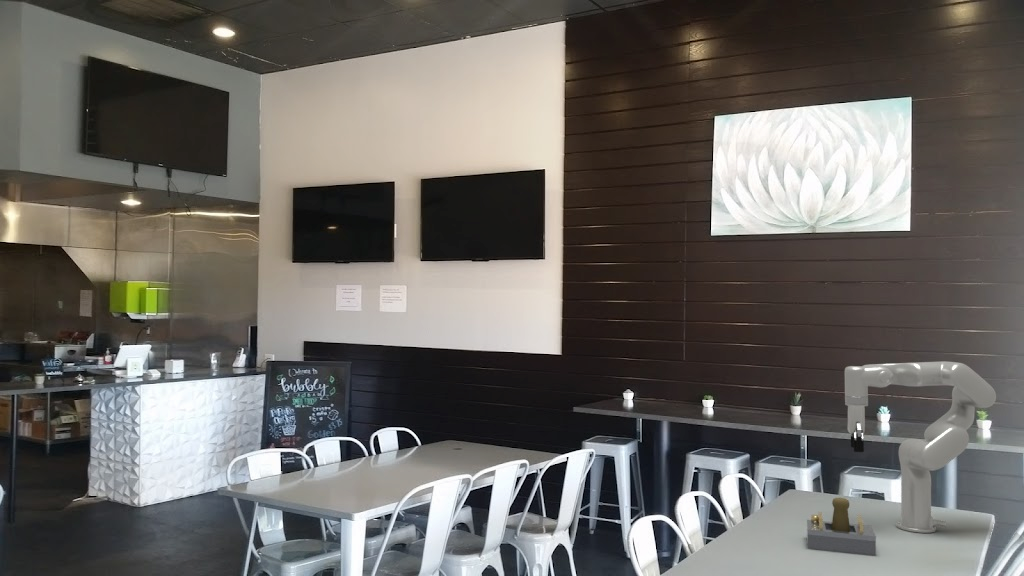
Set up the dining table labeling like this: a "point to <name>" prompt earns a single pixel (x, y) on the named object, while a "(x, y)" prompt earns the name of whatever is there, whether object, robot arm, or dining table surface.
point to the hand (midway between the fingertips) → (857, 449)
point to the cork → (840, 515)
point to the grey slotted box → (840, 537)
